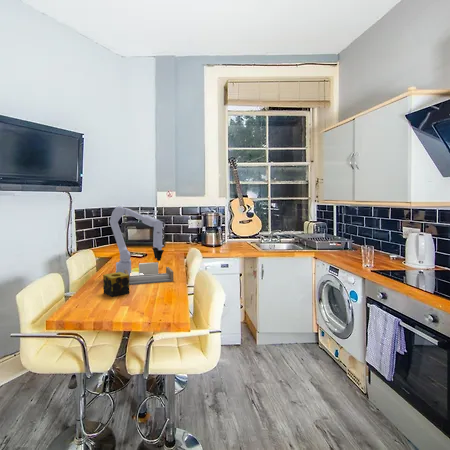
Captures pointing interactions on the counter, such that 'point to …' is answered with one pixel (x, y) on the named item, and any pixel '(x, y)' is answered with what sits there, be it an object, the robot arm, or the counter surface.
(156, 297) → the counter surface
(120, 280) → the black and yellow cube
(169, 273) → the cabinet base
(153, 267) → the door panel
